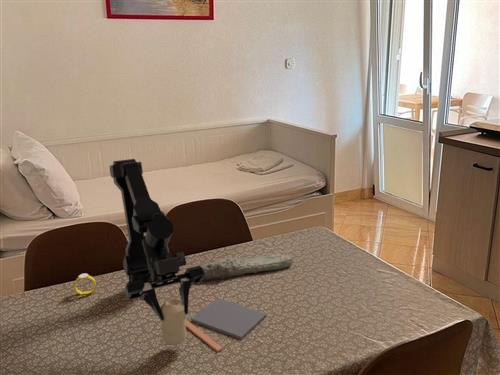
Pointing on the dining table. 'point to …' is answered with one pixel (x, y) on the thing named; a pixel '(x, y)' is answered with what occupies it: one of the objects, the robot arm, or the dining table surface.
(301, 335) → the dining table surface
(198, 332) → the orange curved strip
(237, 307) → the mat
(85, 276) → the gold diamond ring
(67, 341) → the dining table surface
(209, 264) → the long grey stone
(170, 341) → the candle
